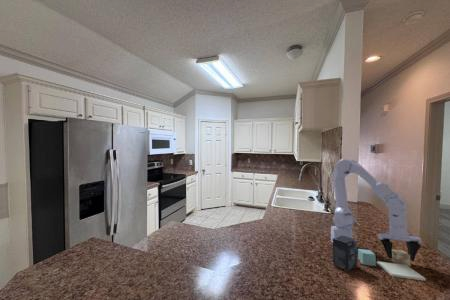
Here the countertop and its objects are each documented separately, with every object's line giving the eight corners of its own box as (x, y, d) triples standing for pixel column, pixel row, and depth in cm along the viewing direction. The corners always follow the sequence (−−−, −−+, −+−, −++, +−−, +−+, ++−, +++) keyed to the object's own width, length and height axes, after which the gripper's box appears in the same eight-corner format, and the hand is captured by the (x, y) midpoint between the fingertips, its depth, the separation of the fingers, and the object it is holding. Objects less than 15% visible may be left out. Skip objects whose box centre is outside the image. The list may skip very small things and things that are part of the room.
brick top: (363, 264, 78) (362, 253, 78) (358, 259, 82) (357, 248, 83) (375, 266, 77) (375, 254, 77) (370, 261, 81) (369, 250, 81)
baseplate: (392, 276, 69) (391, 274, 69) (377, 263, 79) (377, 261, 79) (425, 280, 67) (425, 278, 67) (406, 266, 77) (406, 264, 77)
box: (348, 272, 71) (347, 242, 73) (332, 265, 76) (332, 238, 77) (357, 266, 76) (356, 239, 77) (342, 260, 80) (341, 234, 82)
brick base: (397, 265, 78) (396, 253, 79) (390, 260, 83) (390, 249, 83) (410, 266, 77) (409, 254, 78) (403, 261, 82) (402, 250, 82)
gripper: (383, 226, 79) (385, 260, 78) (426, 229, 76) (429, 265, 74) (374, 221, 86) (376, 253, 85) (413, 224, 83) (415, 257, 81)
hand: (400, 258), depth 80 cm, fingers open, 7 cm apart
